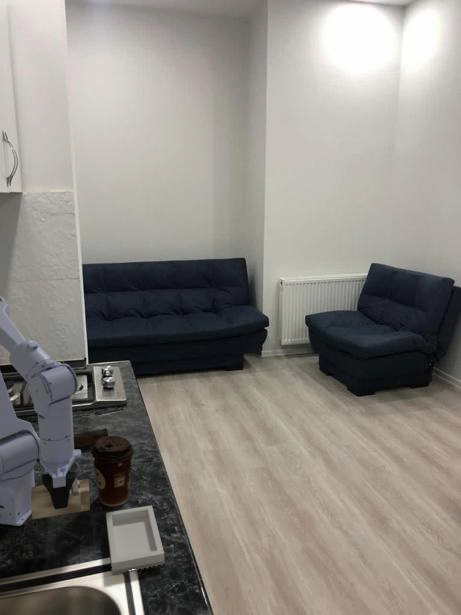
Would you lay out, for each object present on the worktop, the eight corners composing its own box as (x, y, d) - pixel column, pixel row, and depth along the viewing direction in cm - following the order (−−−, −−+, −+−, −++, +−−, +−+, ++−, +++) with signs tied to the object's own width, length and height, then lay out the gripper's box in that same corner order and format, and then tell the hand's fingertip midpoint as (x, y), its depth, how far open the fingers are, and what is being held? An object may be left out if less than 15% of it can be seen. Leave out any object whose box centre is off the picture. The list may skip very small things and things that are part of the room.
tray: (164, 564, 90) (164, 553, 89) (112, 575, 87) (111, 563, 86) (151, 515, 103) (151, 505, 102) (106, 523, 100) (106, 512, 99)
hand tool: (107, 439, 132) (107, 423, 131) (109, 446, 129) (108, 430, 128) (30, 450, 126) (29, 433, 125) (29, 458, 123) (28, 440, 121)
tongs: (88, 496, 97) (87, 476, 96) (89, 510, 93) (89, 489, 92) (32, 505, 94) (31, 484, 93) (31, 520, 90) (30, 498, 89)
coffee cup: (92, 512, 103) (90, 455, 100) (92, 489, 111) (89, 435, 107) (135, 506, 105) (134, 450, 102) (132, 484, 113) (131, 431, 110)
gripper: (82, 449, 85) (86, 520, 88) (77, 412, 98) (80, 474, 101) (37, 456, 82) (42, 528, 86) (38, 417, 95) (42, 481, 99)
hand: (60, 499), depth 93 cm, fingers closed on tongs, 4 cm apart
